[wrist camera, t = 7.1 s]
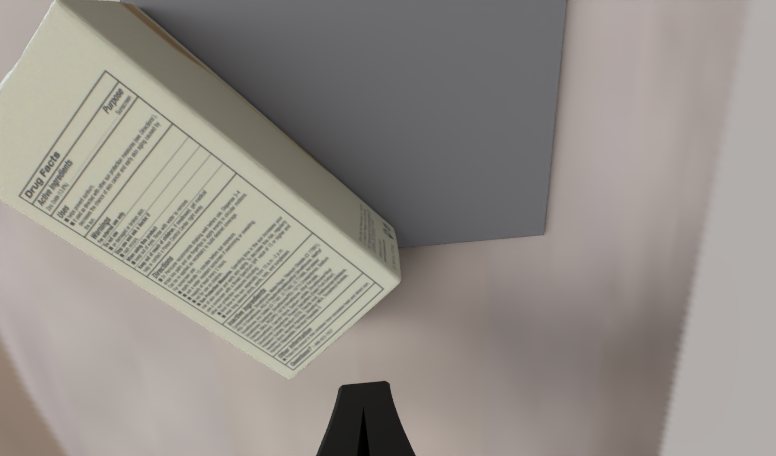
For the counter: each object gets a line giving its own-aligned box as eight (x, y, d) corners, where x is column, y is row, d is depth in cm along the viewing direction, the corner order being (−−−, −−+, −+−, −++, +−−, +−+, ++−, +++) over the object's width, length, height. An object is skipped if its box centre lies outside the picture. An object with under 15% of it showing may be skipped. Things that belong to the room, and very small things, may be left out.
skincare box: (398, 228, 18) (141, -8, 14) (408, 285, 15) (57, -18, 10) (297, 317, 20) (42, 131, 16) (282, 390, 16) (-62, 167, 12)
